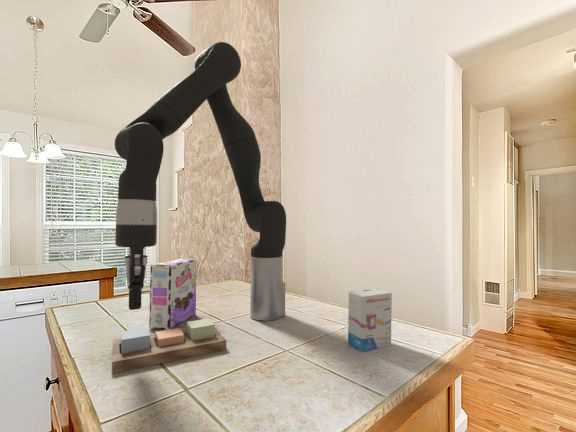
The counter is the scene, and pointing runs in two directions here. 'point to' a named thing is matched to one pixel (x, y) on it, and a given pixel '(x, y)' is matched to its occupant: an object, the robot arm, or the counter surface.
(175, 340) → the terracotta tile
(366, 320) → the ink box
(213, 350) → the button board
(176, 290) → the candy box
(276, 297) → the robot arm
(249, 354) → the counter surface
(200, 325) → the sage tile
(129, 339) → the squat grey square block
